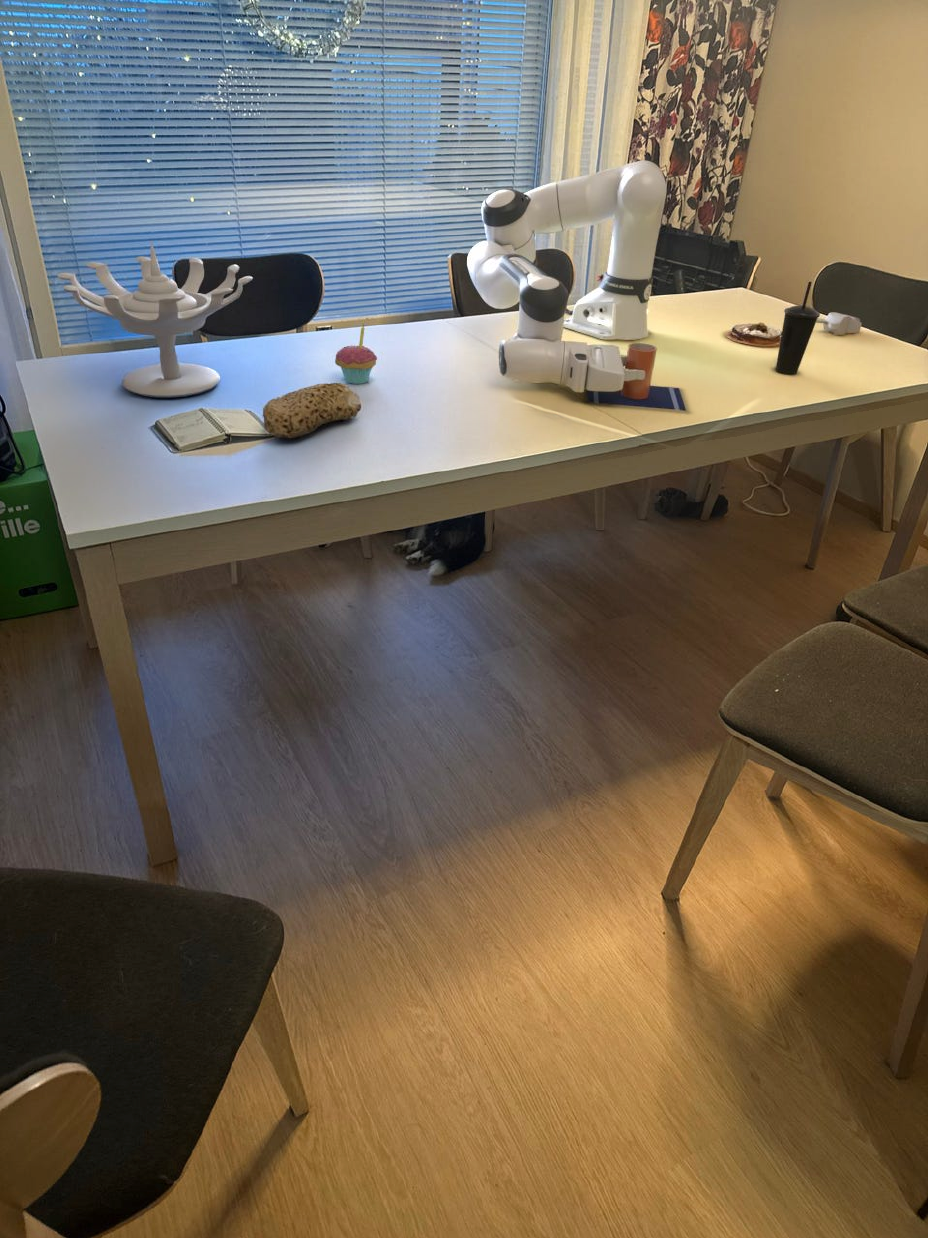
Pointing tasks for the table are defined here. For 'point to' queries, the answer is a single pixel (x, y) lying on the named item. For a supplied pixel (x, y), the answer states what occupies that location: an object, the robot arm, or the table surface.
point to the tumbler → (639, 359)
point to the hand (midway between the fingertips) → (643, 369)
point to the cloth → (656, 399)
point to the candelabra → (161, 320)
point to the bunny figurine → (840, 323)
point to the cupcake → (356, 362)
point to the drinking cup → (795, 336)
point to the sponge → (309, 409)
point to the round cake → (755, 334)
